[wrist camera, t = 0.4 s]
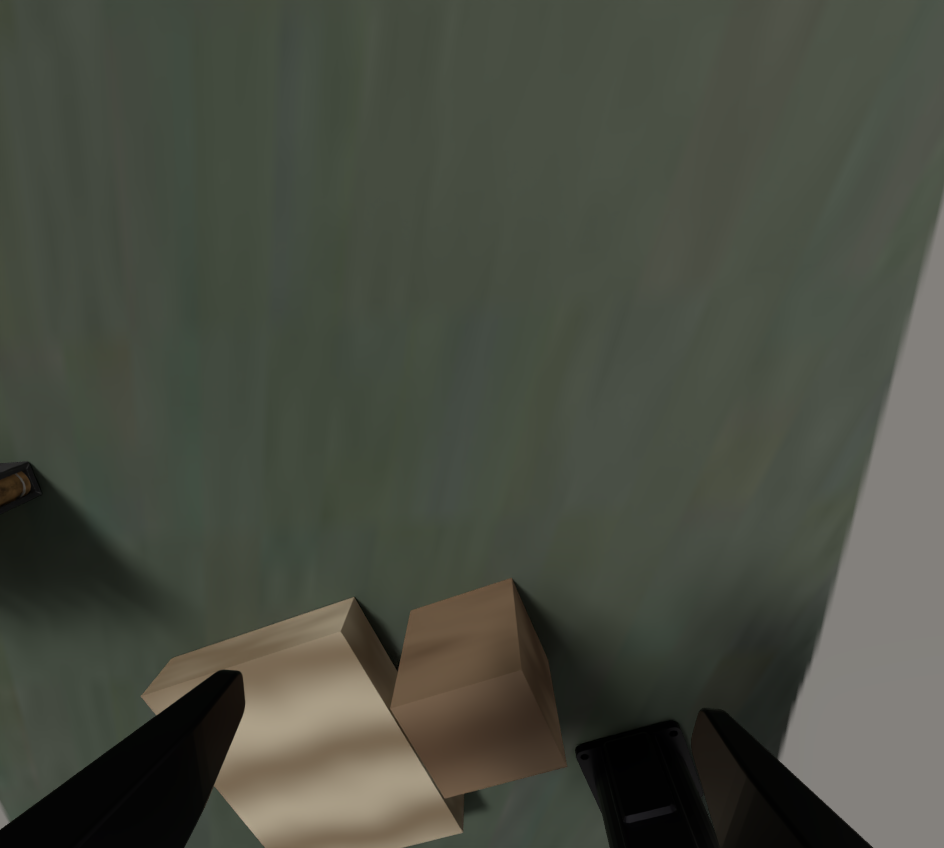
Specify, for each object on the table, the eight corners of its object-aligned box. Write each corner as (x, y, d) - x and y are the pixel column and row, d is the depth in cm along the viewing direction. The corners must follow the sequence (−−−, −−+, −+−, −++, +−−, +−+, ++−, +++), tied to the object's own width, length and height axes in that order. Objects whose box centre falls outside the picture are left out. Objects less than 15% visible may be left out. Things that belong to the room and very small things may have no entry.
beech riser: (464, 787, 29) (462, 832, 27) (303, 829, 31) (288, 875, 28) (354, 597, 24) (340, 631, 22) (171, 658, 26) (140, 696, 24)
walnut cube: (547, 658, 26) (567, 766, 20) (452, 686, 27) (444, 798, 21) (511, 577, 24) (521, 669, 18) (410, 609, 25) (390, 708, 19)
